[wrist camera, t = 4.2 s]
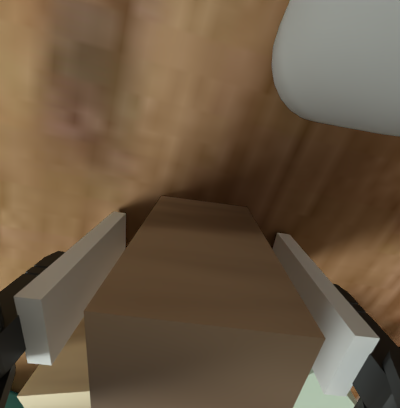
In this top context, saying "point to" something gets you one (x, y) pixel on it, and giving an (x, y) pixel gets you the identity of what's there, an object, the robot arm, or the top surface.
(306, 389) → the sage block
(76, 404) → the oak block
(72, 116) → the top surface
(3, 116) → the top surface
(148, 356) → the walnut block
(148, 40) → the top surface
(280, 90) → the cup
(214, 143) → the top surface
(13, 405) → the box
